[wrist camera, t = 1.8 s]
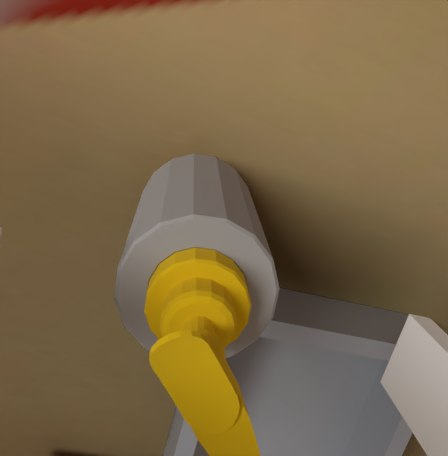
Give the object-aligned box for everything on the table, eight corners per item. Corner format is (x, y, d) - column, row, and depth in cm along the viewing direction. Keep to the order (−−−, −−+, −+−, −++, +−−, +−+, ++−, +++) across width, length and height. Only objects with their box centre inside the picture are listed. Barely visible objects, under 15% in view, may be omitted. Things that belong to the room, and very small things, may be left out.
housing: (156, 481, 33) (149, 551, 28) (210, 273, 28) (214, 312, 23) (328, 503, 35) (351, 573, 30) (408, 314, 30) (453, 358, 25)
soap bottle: (173, 271, 28) (137, 545, 11) (123, 179, 26) (-22, 334, 8) (265, 229, 27) (385, 445, 10) (223, 132, 25) (282, 197, 8)
